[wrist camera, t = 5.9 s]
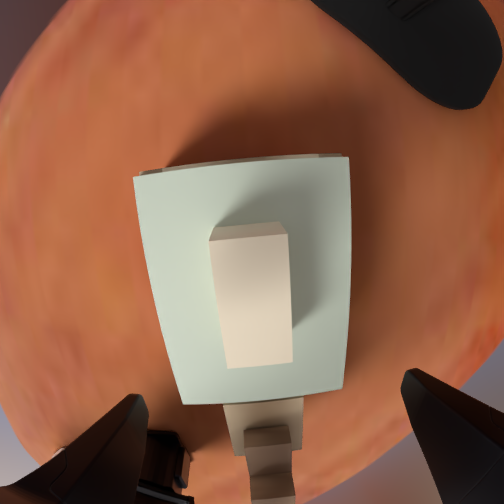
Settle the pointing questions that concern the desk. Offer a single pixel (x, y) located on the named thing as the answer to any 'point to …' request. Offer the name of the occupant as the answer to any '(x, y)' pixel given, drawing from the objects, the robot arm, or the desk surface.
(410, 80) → the desk fan
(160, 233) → the lid
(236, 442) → the beige piece
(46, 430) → the desk surface
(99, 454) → the robot arm
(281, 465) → the brown l-shaped block
